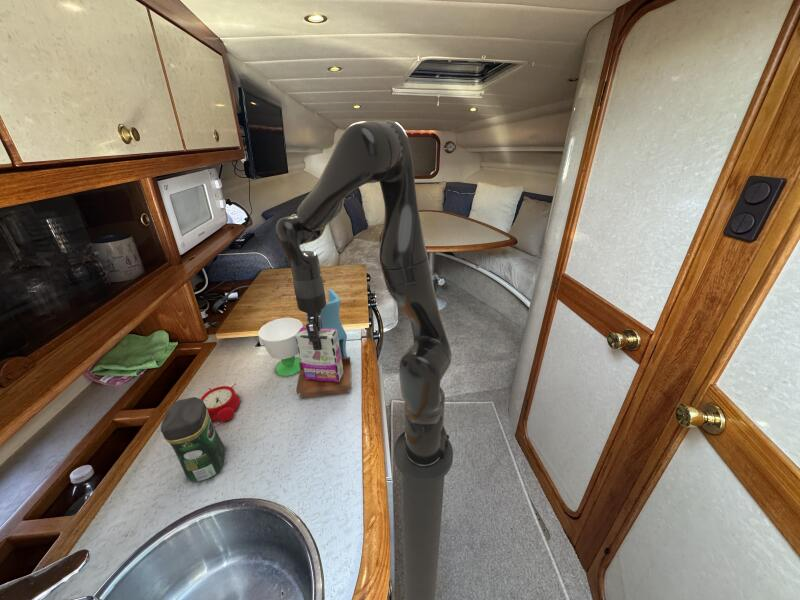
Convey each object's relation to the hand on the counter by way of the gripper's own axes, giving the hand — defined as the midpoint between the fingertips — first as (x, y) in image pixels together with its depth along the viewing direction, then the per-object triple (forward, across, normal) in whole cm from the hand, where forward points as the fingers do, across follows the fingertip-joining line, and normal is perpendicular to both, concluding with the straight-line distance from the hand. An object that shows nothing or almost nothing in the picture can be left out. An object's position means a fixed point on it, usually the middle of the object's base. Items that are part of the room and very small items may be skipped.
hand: (318, 342), depth 91 cm
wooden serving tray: (+17, +1, 0) cm, 17 cm away
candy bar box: (+13, 0, 0) cm, 13 cm away
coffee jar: (+17, -22, +27) cm, 39 cm away
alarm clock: (+17, -5, +30) cm, 35 cm away
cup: (+17, +12, +13) cm, 25 cm away
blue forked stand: (+17, +13, -1) cm, 21 cm away
